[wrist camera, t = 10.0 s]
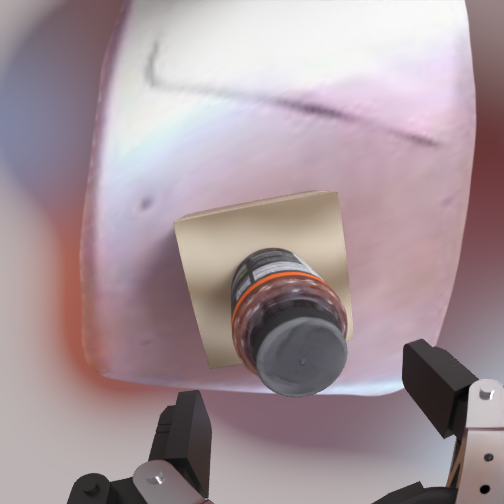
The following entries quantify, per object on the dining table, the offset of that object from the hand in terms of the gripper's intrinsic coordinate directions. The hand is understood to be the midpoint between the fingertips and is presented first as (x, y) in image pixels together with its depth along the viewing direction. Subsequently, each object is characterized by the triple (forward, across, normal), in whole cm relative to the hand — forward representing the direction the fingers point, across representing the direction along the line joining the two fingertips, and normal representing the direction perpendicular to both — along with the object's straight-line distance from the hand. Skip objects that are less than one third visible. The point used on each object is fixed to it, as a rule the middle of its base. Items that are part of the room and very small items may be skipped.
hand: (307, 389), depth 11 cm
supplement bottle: (+13, 0, 0) cm, 13 cm away
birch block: (+20, 0, 0) cm, 20 cm away
